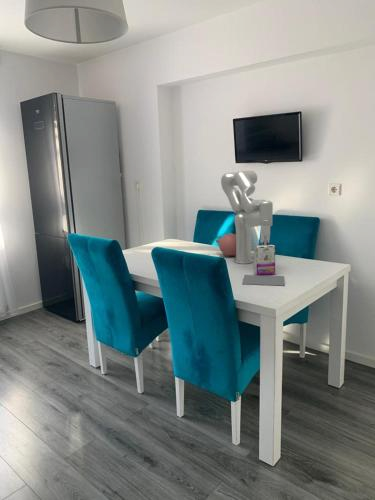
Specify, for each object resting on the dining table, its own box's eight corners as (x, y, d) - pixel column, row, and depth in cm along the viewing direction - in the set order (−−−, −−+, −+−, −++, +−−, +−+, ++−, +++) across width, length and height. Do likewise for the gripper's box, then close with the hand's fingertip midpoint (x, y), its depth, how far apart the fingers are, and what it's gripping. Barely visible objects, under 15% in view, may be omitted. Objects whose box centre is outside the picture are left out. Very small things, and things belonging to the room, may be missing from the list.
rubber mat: (244, 275, 230) (244, 274, 230) (284, 276, 225) (284, 276, 225) (242, 284, 213) (242, 283, 213) (284, 286, 209) (284, 285, 209)
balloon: (223, 251, 290) (223, 230, 287) (246, 255, 276) (246, 233, 273) (209, 255, 280) (209, 233, 276) (232, 259, 266) (232, 236, 262)
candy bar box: (271, 272, 234) (272, 244, 232) (275, 274, 229) (275, 245, 227) (253, 273, 232) (253, 245, 229) (256, 275, 227) (256, 246, 225)
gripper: (259, 220, 239) (259, 251, 243) (258, 224, 225) (258, 256, 229) (272, 220, 238) (271, 251, 242) (272, 224, 224) (271, 257, 227)
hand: (265, 253), depth 235 cm, fingers closed
